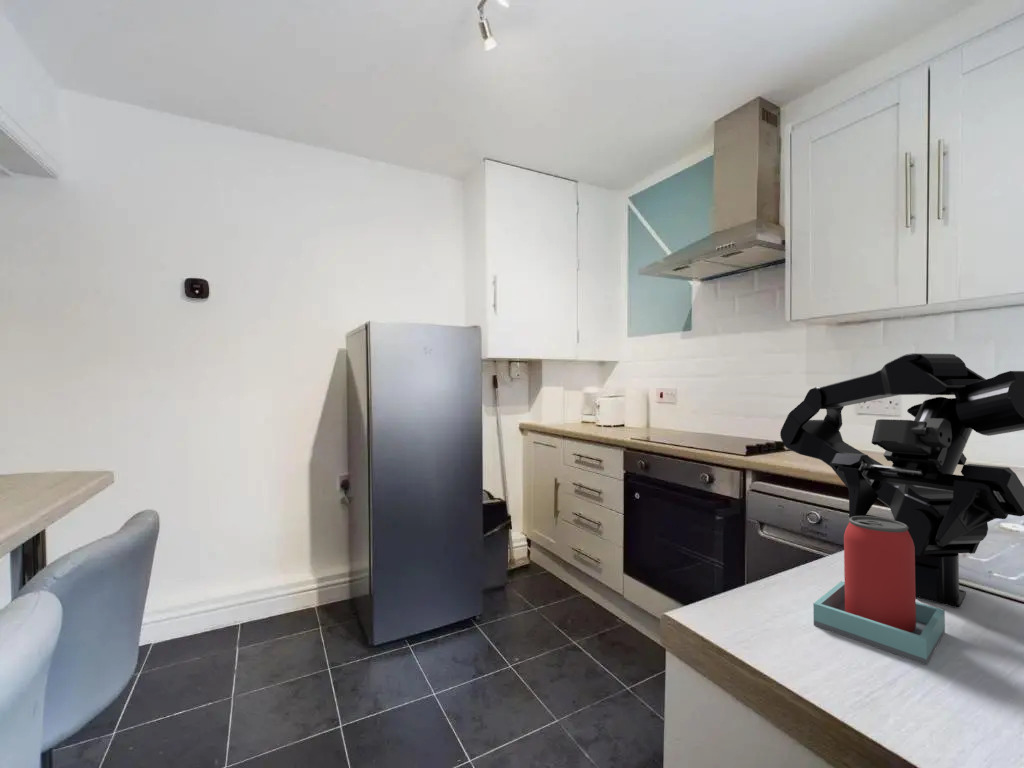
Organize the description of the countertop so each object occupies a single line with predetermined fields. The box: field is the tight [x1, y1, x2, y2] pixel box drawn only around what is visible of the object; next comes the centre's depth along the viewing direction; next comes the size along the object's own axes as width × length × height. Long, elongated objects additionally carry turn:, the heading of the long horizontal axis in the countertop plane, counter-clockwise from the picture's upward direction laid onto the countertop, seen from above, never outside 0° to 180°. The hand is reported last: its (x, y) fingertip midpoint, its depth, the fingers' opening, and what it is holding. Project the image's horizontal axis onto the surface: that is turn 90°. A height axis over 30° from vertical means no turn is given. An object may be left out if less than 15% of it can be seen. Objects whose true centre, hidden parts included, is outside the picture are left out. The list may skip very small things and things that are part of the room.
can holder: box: [813, 580, 946, 666], centre depth 54 cm, size 10×10×3 cm
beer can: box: [843, 515, 917, 632], centre depth 54 cm, size 7×7×12 cm
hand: (892, 533), depth 56 cm, fingers open, 9 cm apart
